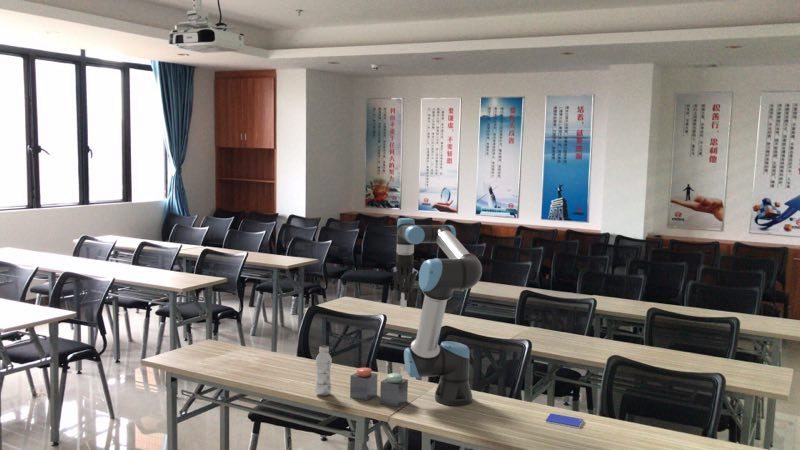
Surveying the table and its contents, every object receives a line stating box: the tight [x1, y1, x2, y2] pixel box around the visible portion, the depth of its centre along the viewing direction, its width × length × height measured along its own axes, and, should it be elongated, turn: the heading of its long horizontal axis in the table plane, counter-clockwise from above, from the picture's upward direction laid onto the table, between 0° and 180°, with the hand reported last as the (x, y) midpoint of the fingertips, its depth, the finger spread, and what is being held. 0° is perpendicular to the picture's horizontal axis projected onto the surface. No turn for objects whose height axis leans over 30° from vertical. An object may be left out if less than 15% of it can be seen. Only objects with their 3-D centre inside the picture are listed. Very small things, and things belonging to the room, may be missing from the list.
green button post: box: [379, 377, 409, 408], centre depth 274 cm, size 8×8×9 cm
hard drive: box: [545, 412, 584, 429], centre depth 259 cm, size 2×8×12 cm
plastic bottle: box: [315, 345, 333, 396], centre depth 280 cm, size 6×7×20 cm
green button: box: [386, 372, 403, 383], centre depth 274 cm, size 6×6×10 cm
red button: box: [356, 367, 373, 377], centre depth 280 cm, size 6×6×10 cm
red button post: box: [349, 372, 378, 402], centre depth 280 cm, size 8×8×9 cm
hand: (403, 307), depth 301 cm, fingers closed
